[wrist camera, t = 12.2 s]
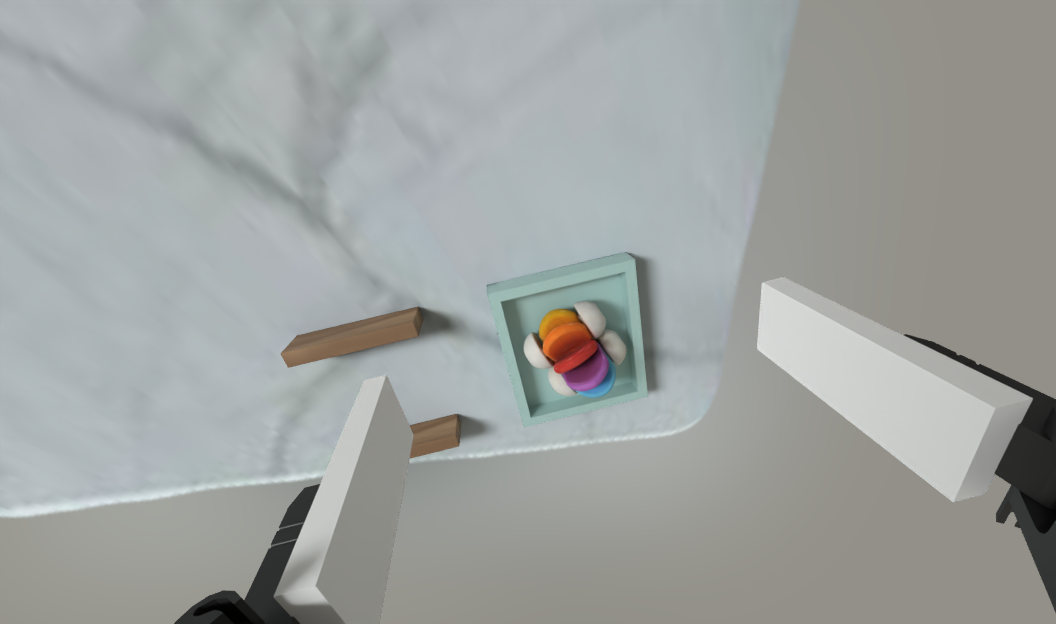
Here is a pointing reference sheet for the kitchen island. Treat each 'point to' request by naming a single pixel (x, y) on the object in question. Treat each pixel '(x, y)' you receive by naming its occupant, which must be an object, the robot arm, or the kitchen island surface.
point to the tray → (561, 288)
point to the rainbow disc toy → (576, 351)
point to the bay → (370, 335)
